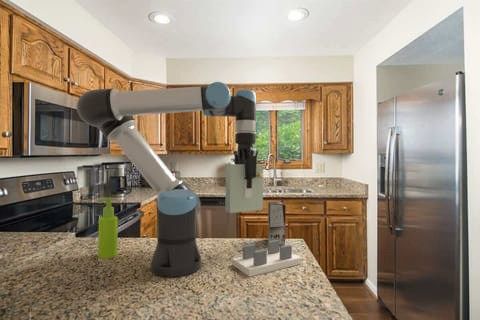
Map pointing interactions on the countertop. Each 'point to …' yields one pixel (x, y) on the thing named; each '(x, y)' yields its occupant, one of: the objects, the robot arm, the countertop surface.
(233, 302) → the countertop surface
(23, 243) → the countertop surface
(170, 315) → the countertop surface
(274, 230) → the coffee box
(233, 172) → the door
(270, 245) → the cabinet base
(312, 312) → the countertop surface
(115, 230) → the soap dispenser
